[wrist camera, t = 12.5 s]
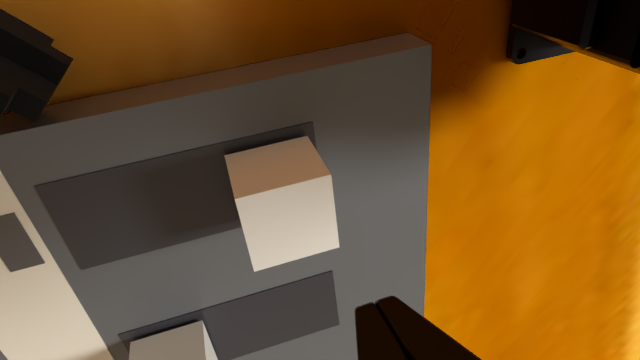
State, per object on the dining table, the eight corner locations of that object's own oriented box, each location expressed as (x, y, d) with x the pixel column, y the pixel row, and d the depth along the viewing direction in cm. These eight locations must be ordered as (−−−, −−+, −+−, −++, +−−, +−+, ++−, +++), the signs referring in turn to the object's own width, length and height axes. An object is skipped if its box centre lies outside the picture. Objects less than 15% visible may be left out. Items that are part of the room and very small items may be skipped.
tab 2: (307, 135, 17) (331, 174, 14) (316, 202, 19) (339, 247, 16) (224, 155, 16) (234, 199, 14) (242, 222, 18) (254, 272, 16)
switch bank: (408, 32, 18) (433, 45, 17) (408, 371, 32) (422, 398, 30) (-139, 142, 15) (-179, 173, 13) (119, 473, 28) (116, 511, 26)
